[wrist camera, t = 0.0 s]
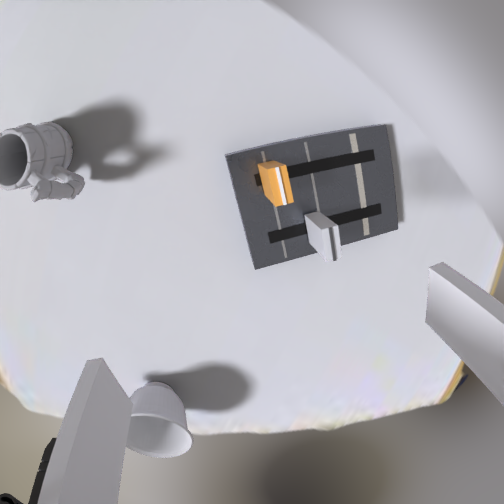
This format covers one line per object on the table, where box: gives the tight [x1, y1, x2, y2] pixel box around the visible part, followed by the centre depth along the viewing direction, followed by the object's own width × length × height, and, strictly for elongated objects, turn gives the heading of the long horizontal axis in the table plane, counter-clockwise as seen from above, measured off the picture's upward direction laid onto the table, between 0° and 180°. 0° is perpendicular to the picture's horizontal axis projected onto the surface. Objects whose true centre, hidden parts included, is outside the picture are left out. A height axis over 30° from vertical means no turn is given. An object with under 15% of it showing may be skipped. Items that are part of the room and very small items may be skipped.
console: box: [225, 125, 398, 270], centre depth 37 cm, size 14×20×3 cm
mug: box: [0, 122, 85, 202], centre depth 26 cm, size 8×12×12 cm, turn 49°
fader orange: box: [258, 160, 294, 207], centre depth 31 cm, size 4×2×6 cm, turn 13°
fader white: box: [304, 211, 342, 262], centre depth 33 cm, size 4×2×6 cm, turn 13°
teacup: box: [126, 382, 193, 458], centre depth 42 cm, size 12×15×10 cm
